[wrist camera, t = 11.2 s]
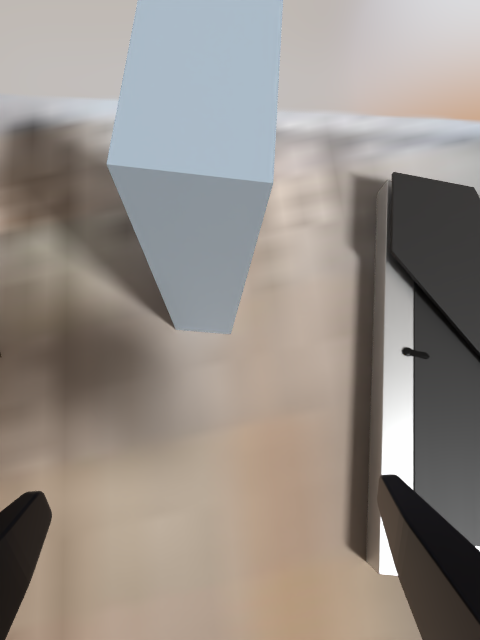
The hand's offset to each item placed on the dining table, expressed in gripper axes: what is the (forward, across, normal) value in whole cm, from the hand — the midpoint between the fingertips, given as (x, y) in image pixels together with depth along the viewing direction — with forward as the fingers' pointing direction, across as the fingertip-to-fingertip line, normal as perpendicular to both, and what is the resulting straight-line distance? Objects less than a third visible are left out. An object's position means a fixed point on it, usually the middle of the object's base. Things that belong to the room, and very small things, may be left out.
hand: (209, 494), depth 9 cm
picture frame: (+12, -16, +5) cm, 20 cm away
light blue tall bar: (+12, +1, -2) cm, 12 cm away
